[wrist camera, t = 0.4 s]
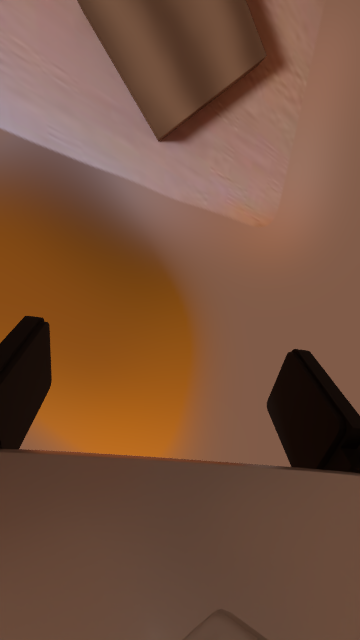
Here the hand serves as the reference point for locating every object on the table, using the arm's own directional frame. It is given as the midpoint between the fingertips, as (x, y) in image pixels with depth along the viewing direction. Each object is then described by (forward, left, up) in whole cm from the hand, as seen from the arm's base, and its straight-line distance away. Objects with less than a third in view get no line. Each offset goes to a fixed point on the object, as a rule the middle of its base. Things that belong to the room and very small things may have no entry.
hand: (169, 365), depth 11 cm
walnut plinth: (-11, -15, -31) cm, 36 cm away
